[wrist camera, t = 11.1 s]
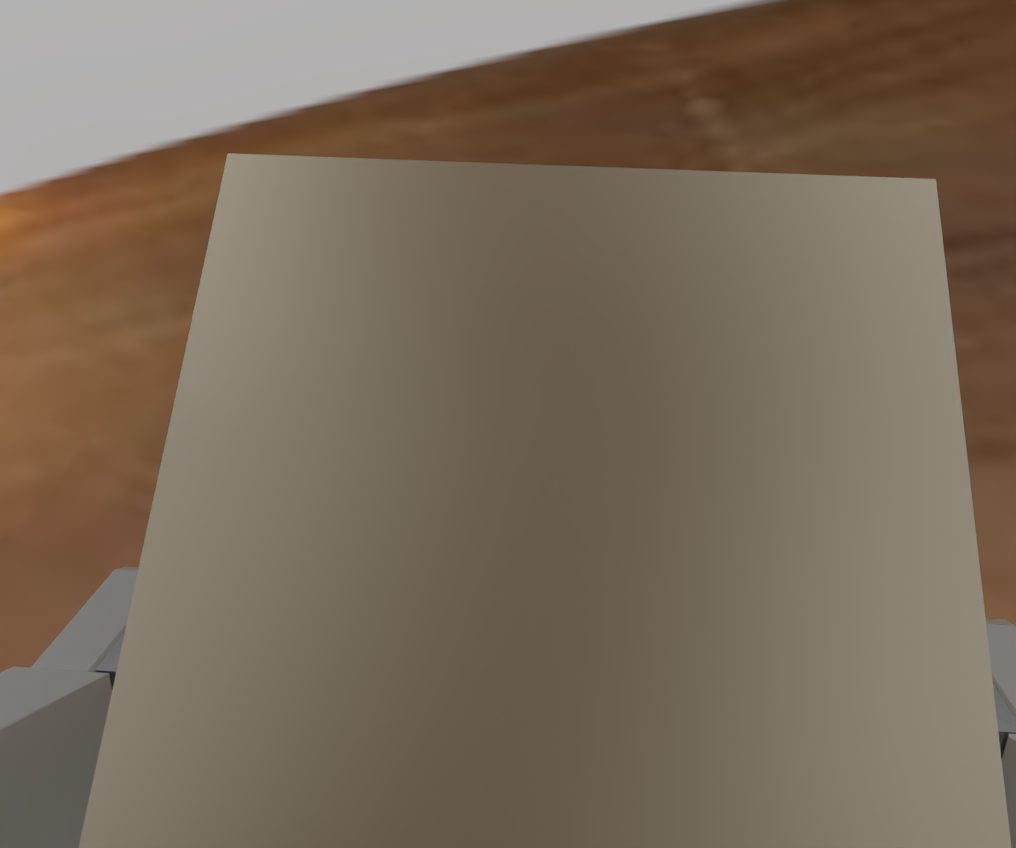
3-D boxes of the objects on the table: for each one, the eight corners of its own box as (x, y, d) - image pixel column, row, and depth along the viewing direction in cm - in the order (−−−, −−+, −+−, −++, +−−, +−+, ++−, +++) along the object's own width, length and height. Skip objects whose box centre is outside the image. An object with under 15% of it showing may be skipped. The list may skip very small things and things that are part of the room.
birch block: (729, 513, 14) (937, 179, 7) (736, 892, 12) (1028, 1008, 5) (390, 494, 14) (228, 153, 7) (345, 862, 13) (59, 929, 5)
